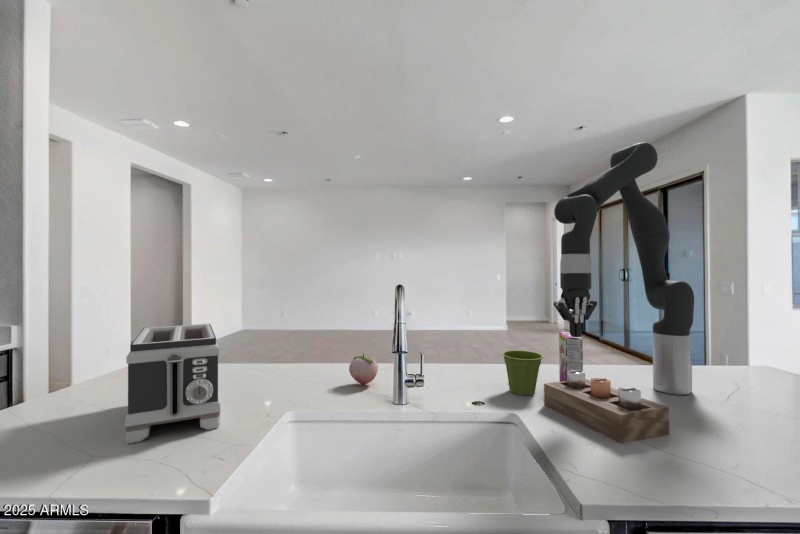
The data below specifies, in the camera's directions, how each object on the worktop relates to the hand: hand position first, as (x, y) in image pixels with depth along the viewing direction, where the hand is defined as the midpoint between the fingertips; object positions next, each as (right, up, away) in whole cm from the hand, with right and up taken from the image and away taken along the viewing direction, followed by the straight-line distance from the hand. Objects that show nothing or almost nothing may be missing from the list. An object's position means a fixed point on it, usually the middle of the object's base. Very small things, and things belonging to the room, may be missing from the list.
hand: (575, 336), depth 103 cm
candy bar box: (+6, -19, +18) cm, 27 cm away
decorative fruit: (-58, -19, +21) cm, 65 cm away
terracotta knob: (+3, -13, -8) cm, 15 cm away
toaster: (-103, -19, -6) cm, 104 cm away
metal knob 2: (+5, -13, -15) cm, 21 cm away
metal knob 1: (0, -13, 0) cm, 13 cm away
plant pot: (-10, -19, +13) cm, 25 cm away
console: (+3, -19, -8) cm, 20 cm away
